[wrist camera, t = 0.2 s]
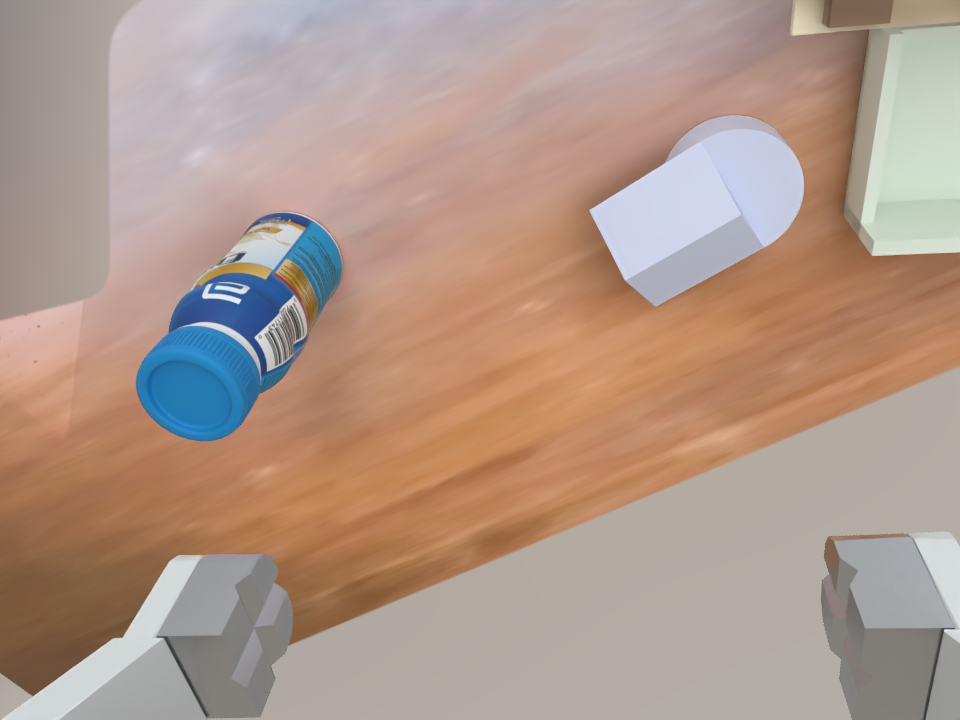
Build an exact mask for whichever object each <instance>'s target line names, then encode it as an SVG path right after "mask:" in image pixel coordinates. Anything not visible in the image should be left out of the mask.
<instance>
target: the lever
mask: <svg viewBox="0 0 960 720" xmlns="http://www.w3.org/2000/svg"><path fill="white" fill-rule="evenodd" d="M953 22H960V0H793V5H792V15H791V26H790V34H791V35H792V36H793V35H805V34H818V33H830V32H842V31H855V30H867V29H879V28H891V27H904V26H916V25H928V24H941V23H953Z"/></svg>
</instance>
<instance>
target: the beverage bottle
mask: <svg viewBox="0 0 960 720" xmlns="http://www.w3.org/2000/svg"><path fill="white" fill-rule="evenodd" d="M342 270H343V263H342V257H341V253H340V250H339V247H338V245H337V243H336V241H335V240H334V238H333V237H332V236H331V234H330V233H329V232H328V231H327V230H326V229H325V228H324V227H323V226H322V225H321V224H319V223H318V222H316V221H315V220H313V219H311V218H309V217H307V216H305V215H302V214H299V213H294V212H275V213H271V214H268V215H265V216H263V217H261V218H259V219H258V220H257V221H255V222H254V223H253V224H252V225H251V226H250V227H249V228H248V230H247V231H246V232H245V233H244V235H243V237H242V238H241V239H240V241H239V242H238V243H237V244H236V245H235V246H234V247H233V248H232V249H231V250H230V251H229V252H228V253H227V254H226V255H225V256H224V258H223V259H222V260H221V261H220V262H219V263H218V264H217V265H216V266H214V267H212V268H210V269H209V270H207V271H206V272H205V273H203V274H202V275H201V276H200V277H199V278H198V279H197V281H196V282H195V283H194V285H193V286H192V288H191V289H190V291H189V293H188V294H186V295H185V296H184V297H183V298H182V299H181V301H180V302H179V303H178V305H177V306H176V308H175V310H174V313H173V315H172V318H171V322H170V326H169V334H167V335H166V336H165V337H164V338H163V339H162V340H161V341H160V342H159V343H158V344H157V345H156V346H155V347H154V348H153V349H152V350H151V351H150V353H149V354H148V355H147V356H146V357H145V358H144V360H143V362H142V364H141V365H140V368H139V370H138V373H137V378H136V388H137V393H138V397H139V399H140V402H141V404H142V405H143V407H144V409H145V410H146V412H147V413H148V414H149V415H150V416H151V418H152V419H153V420H154V421H156V422H157V423H158V424H159V425H160V426H162V427H163V428H165V429H166V430H168V431H169V432H171V433H173V434H175V435H178V436H180V437H183V438H186V439H190V440H196V441H212V440H217V439H221V438H223V437H226V436H228V435H229V434H231V433H232V432H233V431H235V430H236V429H237V428H238V427H239V426H240V425H241V424H242V422H243V421H244V420H245V418H246V416H247V415H248V413H249V412H250V410H251V408H252V407H253V405H254V403H255V401H256V399H257V397H258V395H259V394H260V393H262V392H264V391H266V390H268V389H270V388H271V387H273V386H274V385H275V384H277V383H278V382H279V381H280V380H281V379H282V378H283V377H284V376H285V374H286V373H287V371H288V370H289V368H290V366H291V364H292V363H293V362H294V361H295V359H296V358H297V357H298V356H299V354H300V353H301V352H302V350H303V348H304V346H305V344H306V341H307V338H308V334H309V332H310V330H311V328H312V326H313V325H314V323H315V321H316V319H317V318H318V316H319V314H320V313H321V311H322V309H323V307H324V306H325V304H326V302H327V301H328V300H329V298H330V297H331V296H332V295H333V293H334V292H335V290H336V289H337V287H338V285H339V283H340V280H341V277H342Z"/></svg>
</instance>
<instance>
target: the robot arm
mask: <svg viewBox="0 0 960 720" xmlns="http://www.w3.org/2000/svg"><path fill="white" fill-rule="evenodd" d="M824 559H825V562H826V565H827V568H828V571H829V575H828V576H826V577H825V578H824V579H823V580H822V591H821V602H822V615H823V622H824V627H825V631H826V635H827V639H828V642H829V646H830V649H831V651H833V652H834V653H835V654H836V655H837V656H838V657H840V658H841V667H840V678H839V679H840V682H841V685H842V689H843V692H844V695H845V698H846V701H847V705H848V708H849V710H850V714H851V717H852V720H960V546H959V544H958V542H957V541H956V539H955V537H954V536H953V535H951V534H950V533H949V532H928V533H927V532H926V533H908V534H882V535H854V536H830V537H828V538H827V541H826V543H825V553H824ZM278 572H279V571H278V569H277V567H276V564H275V562H274V560H273V558H272V556H269V555H265V554H207V555H178V556H176V557H175V558H173V559H172V560H171V561H169V563H168V564H167V566H166V568H165V569H164V571H163V572H162V574H161V576H160V577H159V579H158V581H157V582H156V584H155V586H154V587H153V589H152V591H151V592H150V594H149V595H148V597H147V599H146V600H145V602H144V604H143V605H142V607H141V609H140V610H139V612H138V613H137V615H136V617H135V618H134V620H133V622H132V623H131V625H130V627H129V628H128V630H127V631H126V633H125V635H124V636H123V638H113V639H112V640H111V641H109V642H108V643H106V644H105V645H104V646H102V647H101V648H100V649H98V650H97V651H95V652H94V653H93V654H91V655H90V656H88V657H87V658H86V659H84V660H83V661H82V662H80V663H79V664H77V665H76V666H75V667H73V668H72V669H71V670H69V671H68V672H66V673H65V674H64V675H62V676H61V677H59V678H58V679H57V680H55V681H54V682H53V683H51V684H50V685H48V686H47V687H46V688H44V689H43V690H42V691H40V692H39V693H37V694H36V695H35V696H33V697H32V698H31V699H29V700H28V701H26V702H25V703H24V704H23V705H21V706H19V707H18V708H17V709H15V710H14V711H12V712H11V713H10V714H8V715H7V716H6V717H4V718H3V719H2V720H207V718H244V717H245V718H246V717H260V716H261V714H262V711H263V709H264V706H265V704H266V701H267V699H268V696H269V693H270V691H271V688H272V686H273V683H274V681H275V676H274V673H273V671H272V668H271V665H272V664H274V663H275V662H276V661H277V660H278V659H279V658H280V657H282V656H283V655H284V654H285V652H286V650H287V647H288V644H289V641H290V639H291V634H292V625H293V612H292V605H291V601H290V599H289V596H288V593H287V592H286V591H285V590H284V589H282V588H281V587H280V586H278V585H277V584H276V583H275V582H274V581H275V579H276V577H277V574H278Z"/></svg>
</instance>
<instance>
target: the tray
mask: <svg viewBox="0 0 960 720" xmlns="http://www.w3.org/2000/svg"><path fill="white" fill-rule="evenodd" d="M843 216H844V217H845V219H846V220H847V222H848V223H849V224H850V226H851V227H852V229H853V230H854V231H855V233H856V234H857V236H858V237H859V238H860V240H861V241H862V243H863V244H864V245H865V247H866V248H867V250H868V251H869V252H870V254H871V255H872V256H880V255H904V254H929V253H954V252H960V22H953V23H941V24H928V25H916V26H904V27H891V28H879V29H869V35H868V42H867V49H866V56H865V63H864V70H863V77H862V84H861V91H860V98H859V105H858V112H857V119H856V126H855V133H854V140H853V147H852V154H851V161H850V168H849V174H848V181H847V188H846V195H845V202H844V209H843Z"/></svg>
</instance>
